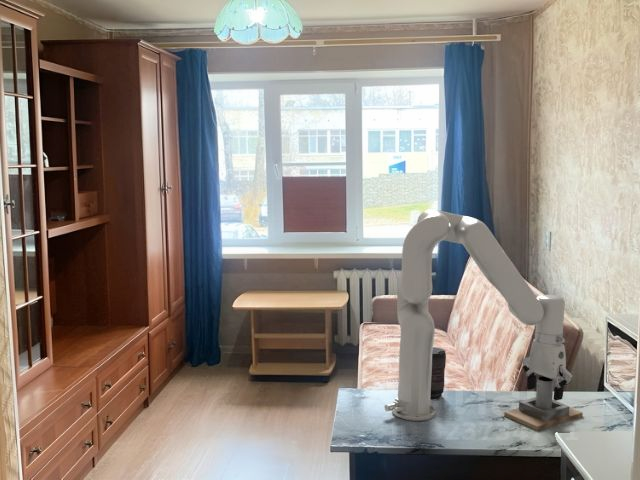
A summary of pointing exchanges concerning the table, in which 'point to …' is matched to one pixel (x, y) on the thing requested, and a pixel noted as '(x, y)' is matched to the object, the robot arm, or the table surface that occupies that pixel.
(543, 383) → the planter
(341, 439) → the table surface
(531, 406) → the socket board
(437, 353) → the camera lens
